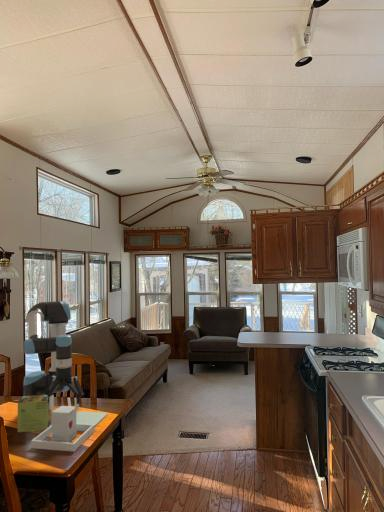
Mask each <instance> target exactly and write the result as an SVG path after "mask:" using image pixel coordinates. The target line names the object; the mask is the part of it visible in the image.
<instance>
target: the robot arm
mask: <svg viewBox="0 0 384 512" xmlns="http://www.w3.org/2000/svg"><path fill="white" fill-rule="evenodd" d="M71 316H72V315H71V308H70V304H69V302H68V301H65V300H64V301H63V300H57V301H41V302H38V303H35V304H34V305H33V306H31V307H30V308H29V309H28V311H27V313H26V322H27V323H28V324H27V327H28V329H27V331H28V332H27V334H28V335H27V338H26V339H25V340H24V344H23V348H24V349H23V351H24V352H23V353H24V354H25V355H35V354H44V353H51V354H50V355H51V356H50V359H51V362H50V363H51V366H50V368H49V369H48V372H47V373H46V372H45V371H44V370H37V371H32V372H30V373H28V374H26V375H25V376H24V377H23V384H22V386H23V396H35V395H47V396H48V403H50V410H52V411H53V409H55V400H54V399H55V395H54V393H63V392H68V391H69V390H70V391H71V392H72V393H73V395H74V396H75V397H74V407H75V411H76V412H78V411H79V410H80V403H81V397H83V396H84V395H85V392H84V390H83V388H82V385H81V384H80V382H79V377H78V376H77V375H76V376H73V375H72V374H73V366H72V365H73V358H72V355H73V354H72V347H73V346H72V343H73V341H72V336H71V334H67V325H68V324H69V321H71V319H72V317H71ZM44 322H48V323H47V324H48V326H49V327H50V337H49V336H48V337H44V325H43V323H44Z"/></svg>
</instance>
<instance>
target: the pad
mask: <svg viewBox="0 0 384 512" xmlns="http://www.w3.org/2000/svg"><path fill="white" fill-rule="evenodd" d="M108 415H109V414H108V412H97V411H96V412H94V411H82V410H80V411H79V410H78V411H76V423H79V424H94V425H95V428H96V427H97V426H98V425H99V424H100V423H101V422H102V421H103V420H105V418H106V417H107V416H108Z"/></svg>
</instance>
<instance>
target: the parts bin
mask: <svg viewBox="0 0 384 512" xmlns="http://www.w3.org/2000/svg"><path fill="white" fill-rule="evenodd" d="M95 428H96V427H95V425H94V424H79V423H76V432H82V434H81V435H80V436H79V437H77V439H76V440H75V441H74V442H69V443H68V442H55V441H52V440H45V439H47V438H48V437H49V436H51V435H52V434H51V433H52V424H51V425H50V427H48V428H47V429H46V430H42V432H41V433H40V434H38V435H37V436H35V437H34V438H32V440H30V444H31V445H30V448H31V449H35V450H36V449H37V450H38V449H39V450H50V451H60V452H61V451H62V452H73V453H74V452H76V450H78V449H79V447H80V446H82V444H83V443H84V442H86V440H88V438H90V437H91V436H92V435H93V434H94V432H95ZM46 437H47V438H46ZM42 440H43V441H42Z"/></svg>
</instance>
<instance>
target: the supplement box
mask: <svg viewBox="0 0 384 512" xmlns="http://www.w3.org/2000/svg"><path fill="white" fill-rule="evenodd" d="M76 413H77V411H75V406H71V405H68V406H67V405H60V406H59V407H57V408H56V409H54V410H52V423H51V425H52V434H51V441H55V442H68V443H71V442H72V441H73V440H74V439H75V438H76V437H77V431H76Z"/></svg>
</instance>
